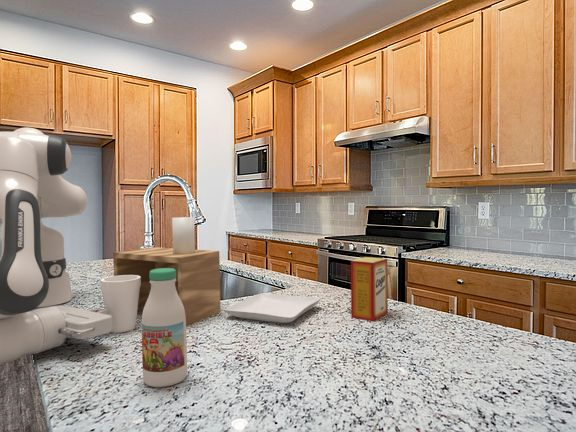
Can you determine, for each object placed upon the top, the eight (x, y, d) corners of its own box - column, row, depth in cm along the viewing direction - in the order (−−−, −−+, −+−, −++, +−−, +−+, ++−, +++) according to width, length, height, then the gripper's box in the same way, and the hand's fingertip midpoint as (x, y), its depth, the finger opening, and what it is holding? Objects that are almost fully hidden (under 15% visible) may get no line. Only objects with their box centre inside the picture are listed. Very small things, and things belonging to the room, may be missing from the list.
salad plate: (222, 320, 107) (222, 308, 107) (260, 302, 126) (260, 291, 126) (292, 330, 98) (292, 316, 98) (322, 309, 117) (321, 297, 117)
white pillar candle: (168, 253, 108) (167, 217, 108) (183, 251, 114) (183, 217, 113) (184, 254, 106) (183, 218, 105) (199, 252, 111) (198, 217, 110)
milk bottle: (149, 370, 75) (146, 266, 74) (190, 368, 75) (188, 265, 74) (137, 389, 67) (134, 274, 66) (183, 387, 68) (180, 272, 67)
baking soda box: (366, 309, 114) (366, 255, 114) (387, 313, 111) (387, 257, 110) (351, 317, 107) (350, 259, 106) (373, 321, 103) (372, 261, 102)
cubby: (115, 313, 114) (113, 252, 113) (155, 302, 127) (153, 247, 126) (183, 327, 101) (181, 257, 100) (220, 312, 114) (219, 251, 113)
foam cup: (126, 335, 94) (125, 282, 94) (93, 333, 97) (92, 281, 96) (148, 323, 104) (147, 275, 103) (118, 322, 106) (117, 274, 105)
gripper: (75, 320, 79) (132, 304, 91) (21, 308, 89) (79, 295, 101) (76, 351, 79) (133, 331, 91) (22, 335, 89) (80, 319, 101)
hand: (104, 312), depth 96 cm, fingers closed, pressing on foam cup
